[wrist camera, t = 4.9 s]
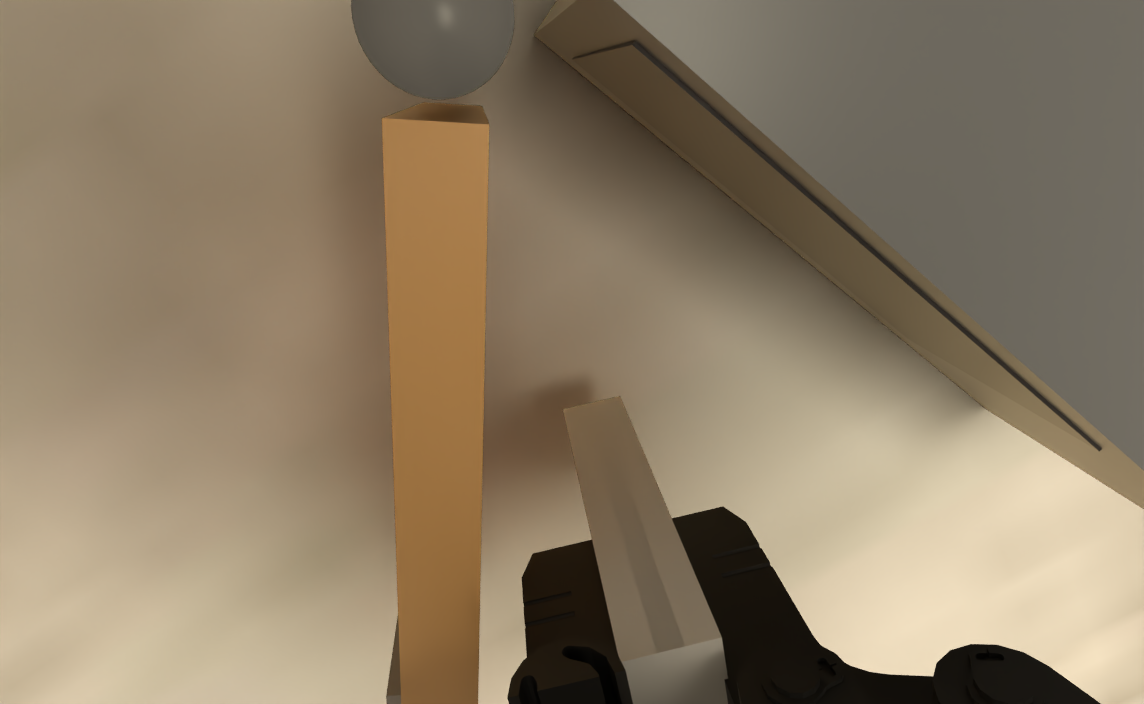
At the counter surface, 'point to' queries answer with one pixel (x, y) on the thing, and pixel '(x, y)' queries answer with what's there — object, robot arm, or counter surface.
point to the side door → (436, 326)
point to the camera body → (926, 176)
